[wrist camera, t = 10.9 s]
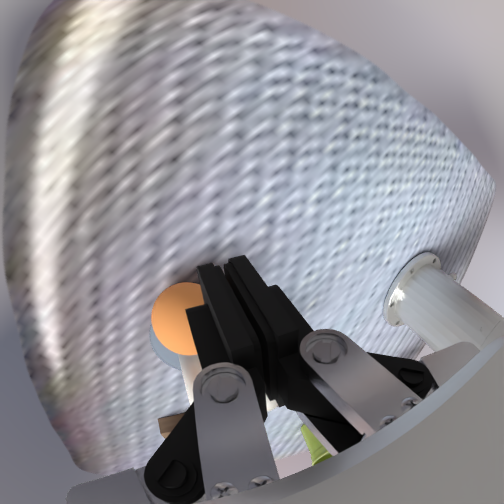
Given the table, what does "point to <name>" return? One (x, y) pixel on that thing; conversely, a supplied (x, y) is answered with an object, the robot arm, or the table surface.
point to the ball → (176, 317)
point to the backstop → (169, 424)
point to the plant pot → (315, 446)
